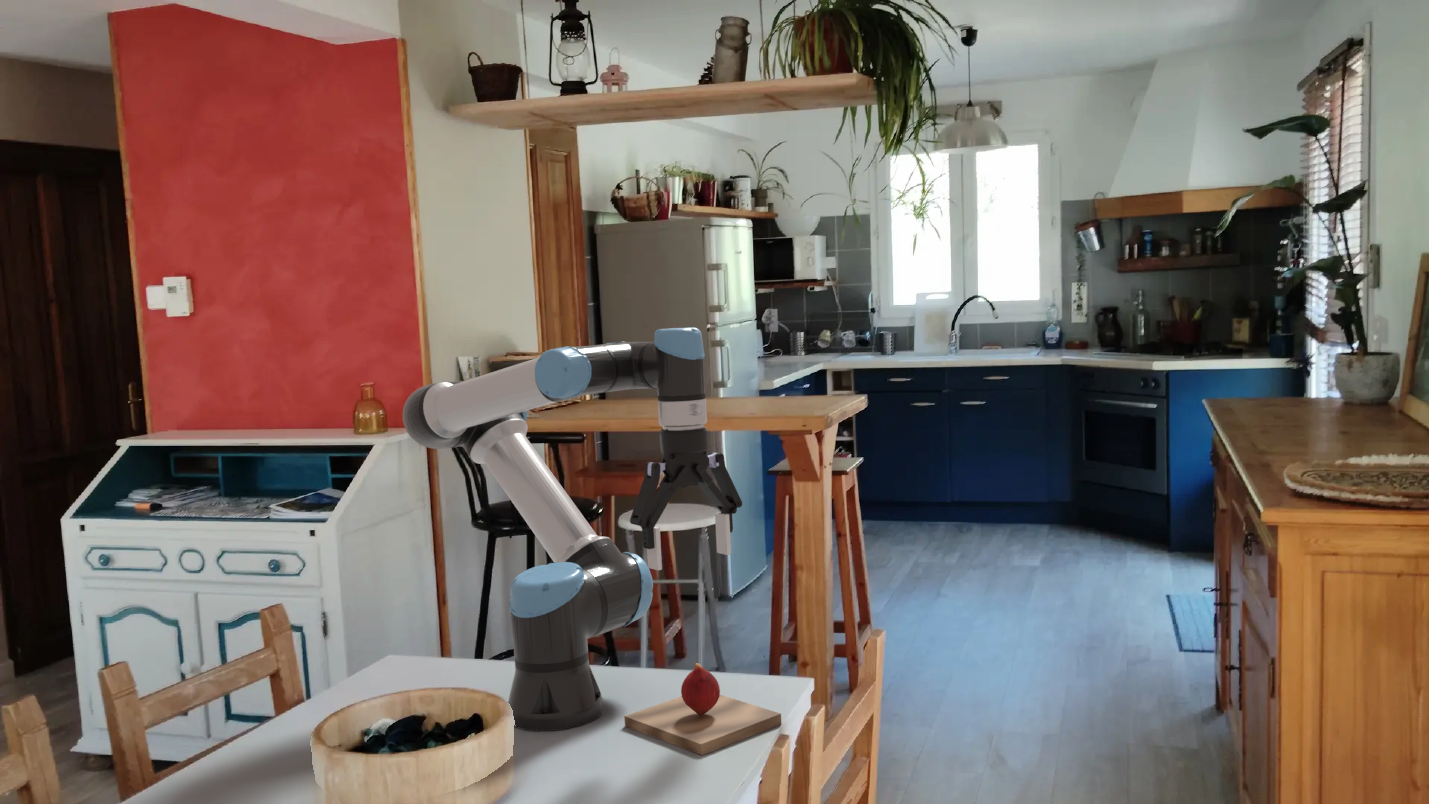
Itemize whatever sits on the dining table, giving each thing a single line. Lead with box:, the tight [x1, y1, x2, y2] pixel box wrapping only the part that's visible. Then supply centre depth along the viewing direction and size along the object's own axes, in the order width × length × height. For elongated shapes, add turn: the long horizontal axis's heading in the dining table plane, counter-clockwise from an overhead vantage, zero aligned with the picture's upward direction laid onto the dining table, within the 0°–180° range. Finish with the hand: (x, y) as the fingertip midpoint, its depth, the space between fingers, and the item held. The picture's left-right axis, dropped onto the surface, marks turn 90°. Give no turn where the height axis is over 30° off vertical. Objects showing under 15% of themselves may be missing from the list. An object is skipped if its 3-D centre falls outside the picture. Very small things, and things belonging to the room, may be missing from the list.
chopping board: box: [623, 694, 782, 756], centre depth 177 cm, size 18×16×2 cm
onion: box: [680, 662, 721, 715], centre depth 176 cm, size 6×6×8 cm
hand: (690, 561), depth 182 cm, fingers open, 13 cm apart
